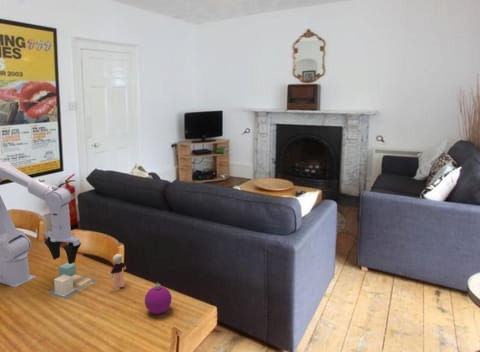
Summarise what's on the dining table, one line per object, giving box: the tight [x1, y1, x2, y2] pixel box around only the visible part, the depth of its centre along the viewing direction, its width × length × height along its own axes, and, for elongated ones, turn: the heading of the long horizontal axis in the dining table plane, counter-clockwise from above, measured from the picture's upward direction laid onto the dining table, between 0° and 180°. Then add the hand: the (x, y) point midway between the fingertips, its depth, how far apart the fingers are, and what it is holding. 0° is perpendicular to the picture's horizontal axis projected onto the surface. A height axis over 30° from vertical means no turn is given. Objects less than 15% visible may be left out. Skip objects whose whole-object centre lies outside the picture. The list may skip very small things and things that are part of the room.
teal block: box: [58, 262, 77, 277], centre depth 133 cm, size 4×4×5 cm
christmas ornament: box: [144, 281, 172, 315], centre depth 114 cm, size 8×8×10 cm
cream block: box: [53, 274, 74, 296], centre depth 124 cm, size 4×4×5 cm
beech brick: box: [72, 274, 92, 291], centre depth 129 cm, size 8×5×2 cm, turn 66°
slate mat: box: [47, 275, 99, 300], centre depth 128 cm, size 9×14×1 cm, turn 156°
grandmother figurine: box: [109, 253, 127, 292], centre depth 127 cm, size 8×4×13 cm, turn 168°
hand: (64, 260), depth 127 cm, fingers open, 7 cm apart
